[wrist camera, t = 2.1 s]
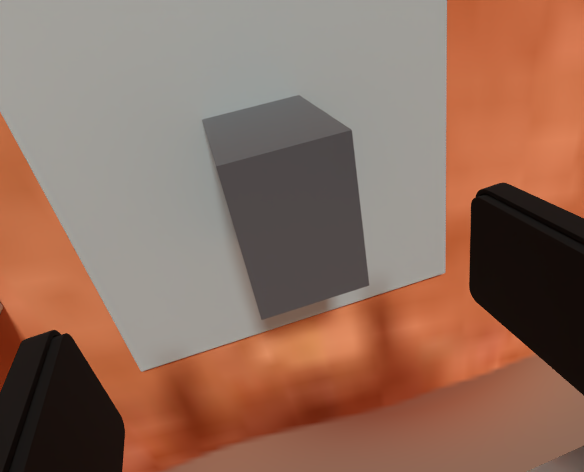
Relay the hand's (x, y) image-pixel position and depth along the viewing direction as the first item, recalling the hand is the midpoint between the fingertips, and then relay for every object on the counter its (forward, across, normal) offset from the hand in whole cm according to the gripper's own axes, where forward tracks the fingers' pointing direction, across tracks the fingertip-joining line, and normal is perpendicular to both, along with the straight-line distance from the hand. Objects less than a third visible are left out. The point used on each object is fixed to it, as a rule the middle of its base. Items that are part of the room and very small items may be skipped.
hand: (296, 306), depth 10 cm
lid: (+8, -1, 0) cm, 8 cm away
